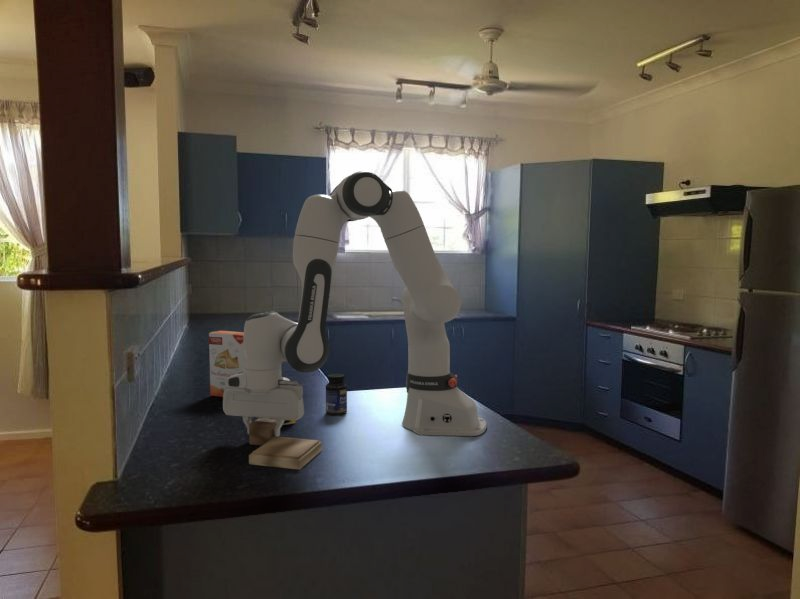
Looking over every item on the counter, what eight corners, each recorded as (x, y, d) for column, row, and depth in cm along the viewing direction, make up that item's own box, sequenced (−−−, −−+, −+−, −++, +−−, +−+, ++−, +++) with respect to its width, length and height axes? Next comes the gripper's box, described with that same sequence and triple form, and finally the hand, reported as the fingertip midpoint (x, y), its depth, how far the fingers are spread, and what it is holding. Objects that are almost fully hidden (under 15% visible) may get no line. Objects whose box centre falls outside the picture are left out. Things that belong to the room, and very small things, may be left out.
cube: (278, 439, 136) (277, 419, 136) (268, 446, 131) (267, 425, 131) (259, 437, 137) (259, 418, 137) (249, 444, 132) (249, 423, 132)
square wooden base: (321, 450, 128) (321, 439, 128) (299, 469, 117) (299, 458, 116) (275, 445, 131) (274, 435, 131) (249, 464, 120) (248, 452, 119)
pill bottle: (343, 416, 156) (343, 378, 155) (322, 415, 157) (322, 377, 156) (349, 410, 162) (349, 373, 161) (329, 409, 163) (329, 372, 162)
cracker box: (209, 396, 177) (207, 332, 176) (221, 392, 183) (220, 329, 181) (244, 400, 172) (243, 334, 171) (256, 396, 178) (255, 332, 176)
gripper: (308, 378, 133) (308, 434, 134) (232, 373, 139) (234, 427, 140) (296, 384, 127) (297, 442, 128) (218, 379, 132) (219, 435, 133)
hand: (263, 434), depth 134 cm, fingers closed on cube, 5 cm apart
